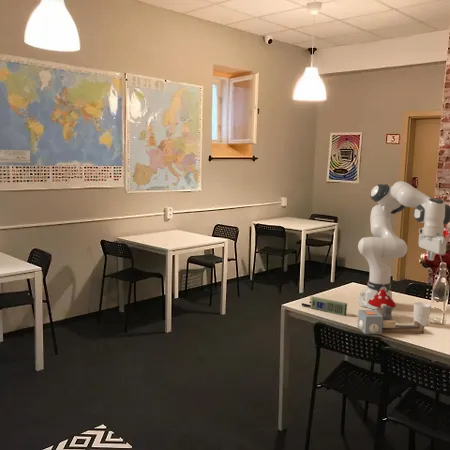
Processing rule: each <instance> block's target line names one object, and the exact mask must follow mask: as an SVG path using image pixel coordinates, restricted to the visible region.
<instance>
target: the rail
mask: <svg viewBox="0 0 450 450" xmlns="http://www.w3.org/2000/svg"><path fill="white" fill-rule="evenodd" d="M424 332H425V326H423V325H421V324H420V323H419V322H417V321H414V322H413V324H395V328H385V327H382V334H413V335H414V334H415V335H417V334H418V335H419V334H420V335H421V334H423V335H424Z"/></svg>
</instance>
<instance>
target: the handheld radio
mask: <svg viewBox="0 0 450 450" xmlns="http://www.w3.org/2000/svg"><path fill="white" fill-rule="evenodd" d="M309 300H310V301H309V304H307V303H304V302H301V306H303V307H307V308H310V309H311V310H314V311H315V310H316V311H319V310H320V311H321V312H324V313H329V314H334V315H339V316H343V317H346V315H347V309H348V303H347V302H342V301H337V300H332V299H327V298H323V297H322V298H321V297H319V296H318V297H317V296H309Z"/></svg>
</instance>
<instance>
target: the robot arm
mask: <svg viewBox="0 0 450 450" xmlns="http://www.w3.org/2000/svg"><path fill="white" fill-rule="evenodd" d="M369 195H370V197H369V198H370V199H371V200H372V201H374V202H375V203H378V204H375V206H373V207H372V208H371V210H370V217H369V221H370V222H369V224H370V232H371V235H372V236H366V237H365V236H364V237H362V238H360V240H359V241H358V245H357V250H358V252H359V253H360V255H362V256H363V257H364V259H365V260H366V262H367V263H368V267H369V268H368V269H369V277H368V281H367V285H366V287H365V288H364V289H362V291H361V292H360V296H359V297H357V302H358V304H359V305H360V306H361V307H363V308H368V309H370V310H375V311H376V310H377V308H378V307H374V306H372V305H370V304H369V303H368V301H369V300H370V299H371V298H372V297H373V296H375V295H376V294H377V293H378V292H379V291H380V290H382V289H383V290H385V291H386V292H387V293H388V295H389V296H390V298H392V299H393V292H392V291H391V287H392V284H391V275H392V274H391V273H392V269H391V268H390V266H389V265H387V264H386V263H384V262H382V261H381V258H385V259H386V258H387V259H399V258H403V257H405V255H406V254H407V252H408V245H407V243H406V241H405V240H404V239H402V238H401V237H398V236H397V234H395V233H394V231H393V229H392V224H391V215H395V214H397V213H400V212H402V211H403V210H404V209H405V208H406V207H408V208H414V210H413V217H414V219H415V220H416V221H417V223H421V224H424V225H423V227H421V228H419V229H418V233H419V235H418V247H419V248H421V249H424V250H426V255H427V260H428V261H431V262H432V261H434V260H435V256H436V255H440V256H441V255H446V252H447V240H446V238H445V236H444V229H445V228H444V227H445V226H444V225H447V224H449V223H450V205H449V204H446V203H445V201H444V200H443V199H440V198H437V197H436V198H435V197H431V196H430V195H428V194H425V193H424V192H421V191H420V190H419V189H417V188H415V187H414V186H413V185H411V184H410V183H408V182H406V181H403V180H402V181H401V180H400V181H396V182H395V183H394V184H393V185H392V186H389V185H388V184H387V183H385V184H382V183H378V184H376V185H374V186H373V187H372V189H371V190H370V194H369Z"/></svg>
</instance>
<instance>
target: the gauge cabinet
mask: <svg viewBox="0 0 450 450" xmlns="http://www.w3.org/2000/svg"><path fill="white" fill-rule="evenodd" d="M365 311H373V312H374V313H376V315H367V314H366V313H365ZM382 323H383V316H382V315H380V314H379V313H378V312H377V311H376V309H358V314H357V326H356V327H357V328H358V329H359V330H360V331H361V332H363V334H364V335H382V334H383V333H382Z"/></svg>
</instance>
